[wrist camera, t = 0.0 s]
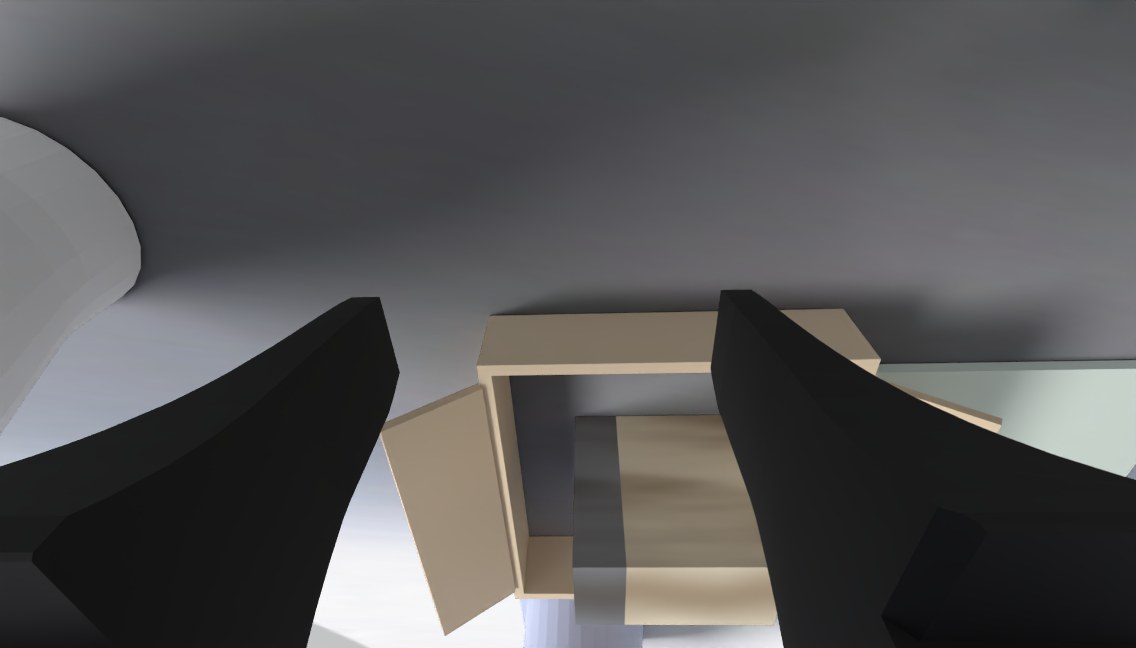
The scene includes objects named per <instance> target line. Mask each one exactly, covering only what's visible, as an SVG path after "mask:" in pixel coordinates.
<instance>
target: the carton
mask: <svg viewBox="0 0 1136 648" xmlns="http://www.w3.org/2000/svg"><path fill="white" fill-rule="evenodd" d="M780 311H781V312H782V313H784V314H785V315H786V316H788V317H789V318H790V319H791V320H793V321H794V322H795V323H797V324H798V325H799V326H801V327H802V328H804V329H805V330H806V331H808V332H809V333H810V334H812V335H813V336H815V337H816V338H817V339H819V340H820V341H822V342H823V343H825V344H826V345H827V346H829V347H830V348H832V349H833V350H835V351H836V352H838V353H839V354H841V355H843V356H844V357H846V358H847V359H849V360H850V361H852V362H853V363H855V364H857V365H858V366H860V367H861V368H863V369H865V370H866V371H868V372H870V373H871V374H873V375H876V372H877V369H878V367H879V364H880V361H881V358H880V357H879V356H878V354H877V353H876V352H875V350H874V349H873V348H872V346H871V345H870V344H869V342H868V341H867V340H866V338H865V337H864V336H863V334H862V333H861V332H860V330H859V329H858V328H857V326H856V325H855V324H854V322H853V321H852V320H851V318H850V317H849V316H848V314H847V313H846V312H845V310H844V309H804V310H780ZM717 317H718V311H704V312H654V313H603V314H553V315H503V316H490V317H489V321H488V325H487V329H486V332H485V336H484V340H483V344H482V347H481V351H480V355H479V359H478V363H477V371H478V377H479V383H480V385H479V384H478V383H477V384H475V385H473V386H470V387H468V388H466V389H463V390H461V391H459V392H456V393H454V394H451V395H449V396H447V397H444V398H442V399H440V400H437V401H435V402H432V403H430V404H428V405H425V406H423V407H421V408H418V409H416V410H413V411H411V412H409V413H406V414H404V415H402V416H399V417H397V418H394V419H392V420H390V421H387V422H385V423H384V425H383V428H382V430H381V432H380V437H381V440H382V443H383V446H384V449H385V453H386V456H387V459H388V462H389V465H390V468H391V471H392V474H393V478H394V481H395V484H396V487H397V490H398V493H399V496H400V499H401V503H402V506H403V509H404V512H405V515H406V518H407V521H408V525H409V528H410V531H411V534H412V537H413V540H414V543H415V546H416V550H417V553H418V556H419V559H420V562H421V565H422V568H423V571H424V575H425V578H426V581H427V584H428V587H429V590H430V593H431V596H432V600H433V603H434V606H435V609H436V612H437V615H438V618H439V621H440V625H441V628H442V630H443V632H444V635H445V636H446V635H447V634H449V633H451V632H452V631H454V630H455V629H457V628H459V627H460V626H462V625H463V624H465V623H466V622H468V621H470V620H471V619H473V618H474V617H476V616H478V615H479V614H481V613H482V612H484V611H485V610H487V609H489V608H490V607H492V606H493V605H495V604H497V603H498V602H500V601H501V600H503V599H504V598H506V597H508V596H509V595H511V594H512V593H515V599H574V588H573V571H572V558H573V536H529V530H528V522H527V514H526V506H525V498H524V490H523V482H522V475H521V467H520V459H519V451H518V443H517V435H516V427H515V419H514V411H513V404H512V396H511V388H510V380H509V376H511V375H576V374H641V373H706V372H711V369H710V368H711V360H712V353H713V346H714V338H715V331H716V324H717ZM886 382H887V381H886ZM888 383H889V384H891V385H893V386H895V387H897V388H899V389H901V390H902V391H904V392H906V393H908V394H910V395H912V396H914V397H916V398H918V399H920V400H922V401H924V402H926V403H928V404H930V405H932V406H935V407H937V408H939V409H941V410H943V411H946V412H948V413H950V414H952V415H955V416H957V417H959V418H961V419H963V420H966V421H968V422H970V423H973V424H975V425H977V426H980V427H982V428H985V429H987V430H990V431H992V432H995V433H998V431H999V429H1000V428H1001V426H1002V418H999V417H996V416H993V415H990V414H987V413H983V412H980V411H977V410H974V409H971V408H968V407H965V406H962V405H959V404H956V403H952V402H949V401H946V400H943V399H940V398H937V397H934V396H931V395H928V394H925V393H921V392H918V391H915V390H912V389H909V388H906V387H903V386H900V385H897V384H894V383H890V382H888Z"/></svg>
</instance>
